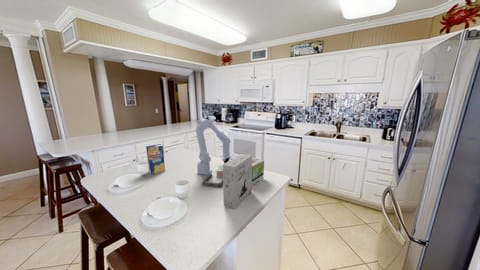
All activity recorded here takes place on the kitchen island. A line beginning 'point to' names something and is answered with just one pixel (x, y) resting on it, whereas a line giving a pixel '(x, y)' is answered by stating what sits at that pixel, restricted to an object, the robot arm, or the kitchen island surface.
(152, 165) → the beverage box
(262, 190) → the kitchen island surface
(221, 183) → the shallow grey tray
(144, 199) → the kitchen island surface
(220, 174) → the kraft carton
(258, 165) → the tea box
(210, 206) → the kitchen island surface
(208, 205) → the kitchen island surface
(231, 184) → the cereal box
